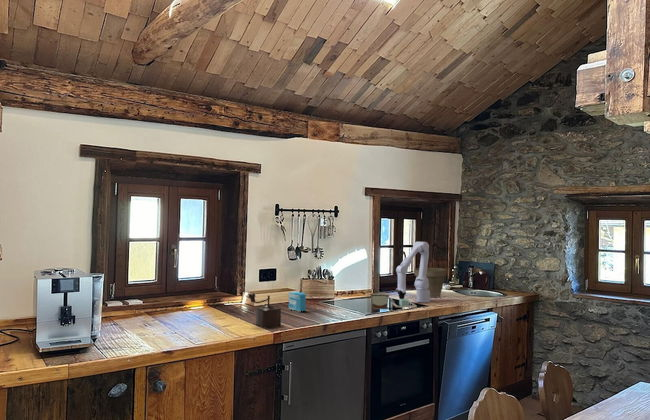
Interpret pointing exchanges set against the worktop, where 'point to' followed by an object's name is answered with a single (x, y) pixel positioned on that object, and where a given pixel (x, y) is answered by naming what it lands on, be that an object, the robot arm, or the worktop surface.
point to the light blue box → (297, 301)
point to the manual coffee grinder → (266, 313)
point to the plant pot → (434, 280)
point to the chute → (402, 306)
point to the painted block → (404, 302)
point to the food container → (379, 300)
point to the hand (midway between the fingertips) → (401, 301)
